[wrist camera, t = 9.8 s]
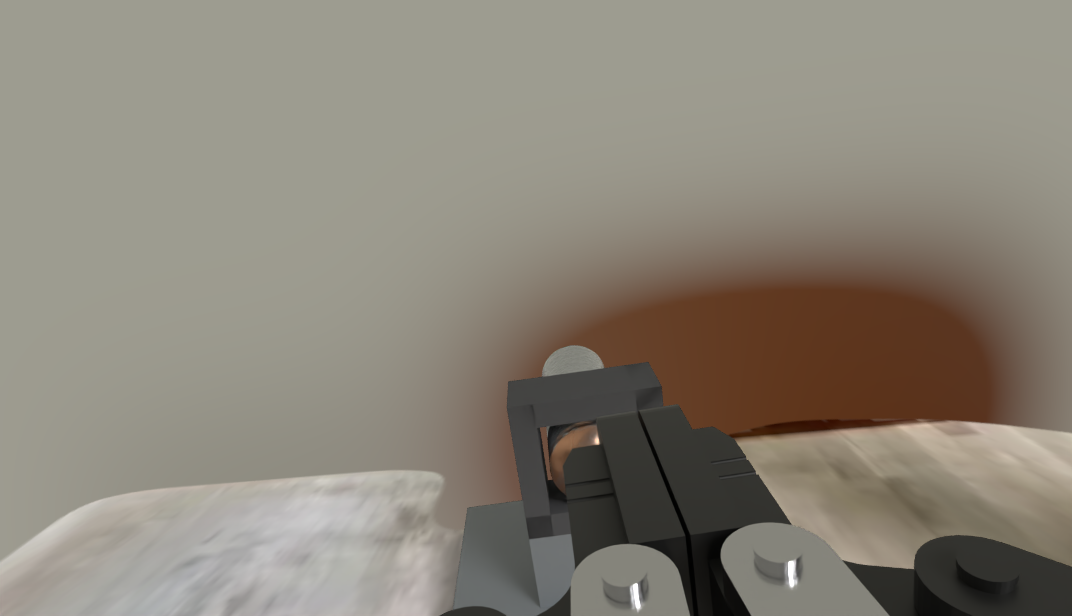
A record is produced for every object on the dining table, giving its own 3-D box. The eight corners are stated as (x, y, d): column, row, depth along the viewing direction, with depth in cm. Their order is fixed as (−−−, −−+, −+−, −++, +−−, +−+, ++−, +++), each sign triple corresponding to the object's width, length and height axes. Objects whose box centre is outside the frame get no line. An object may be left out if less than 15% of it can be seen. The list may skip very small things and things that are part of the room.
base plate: (714, 494, 40) (709, 418, 38) (783, 624, 29) (779, 526, 28) (471, 527, 40) (456, 453, 39) (453, 668, 30) (432, 573, 28)
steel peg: (608, 399, 40) (601, 341, 39) (639, 496, 29) (631, 420, 28) (546, 408, 40) (538, 350, 39) (555, 508, 29) (544, 432, 28)
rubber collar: (660, 485, 32) (648, 362, 30) (673, 519, 29) (661, 386, 28) (528, 503, 32) (508, 381, 30) (528, 539, 30) (506, 407, 28)
